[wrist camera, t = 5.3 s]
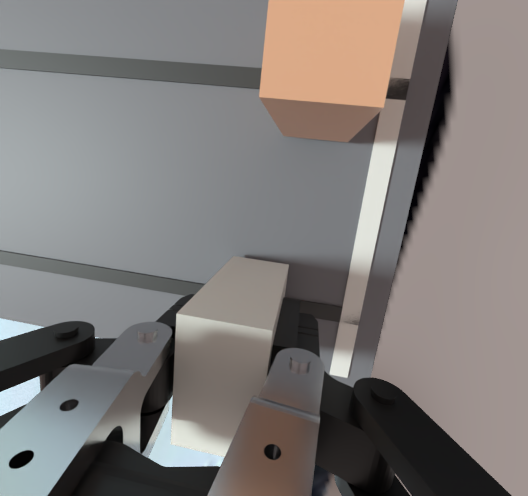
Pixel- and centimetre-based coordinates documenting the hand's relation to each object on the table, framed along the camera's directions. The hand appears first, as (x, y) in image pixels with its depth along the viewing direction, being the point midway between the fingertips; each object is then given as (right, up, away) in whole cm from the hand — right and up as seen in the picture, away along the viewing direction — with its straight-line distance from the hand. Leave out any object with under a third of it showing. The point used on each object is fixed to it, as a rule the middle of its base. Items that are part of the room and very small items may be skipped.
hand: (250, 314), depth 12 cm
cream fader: (0, 0, +1) cm, 1 cm away
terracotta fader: (+3, +9, -1) cm, 9 cm away
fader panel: (-3, +6, +3) cm, 7 cm away
